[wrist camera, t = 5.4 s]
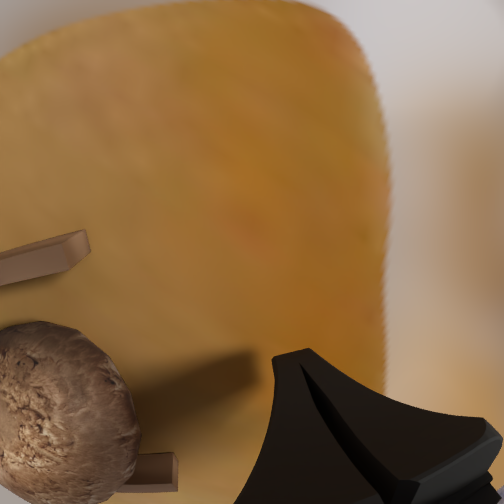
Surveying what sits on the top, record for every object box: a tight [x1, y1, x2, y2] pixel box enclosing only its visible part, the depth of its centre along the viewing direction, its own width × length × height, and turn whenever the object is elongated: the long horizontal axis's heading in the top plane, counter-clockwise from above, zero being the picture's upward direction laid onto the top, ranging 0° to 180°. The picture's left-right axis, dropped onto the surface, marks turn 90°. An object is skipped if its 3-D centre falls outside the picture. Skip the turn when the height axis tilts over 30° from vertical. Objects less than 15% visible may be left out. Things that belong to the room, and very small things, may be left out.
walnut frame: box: [0, 229, 178, 493], centre depth 10 cm, size 12×9×2 cm
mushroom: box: [0, 321, 142, 504], centre depth 9 cm, size 8×8×6 cm
